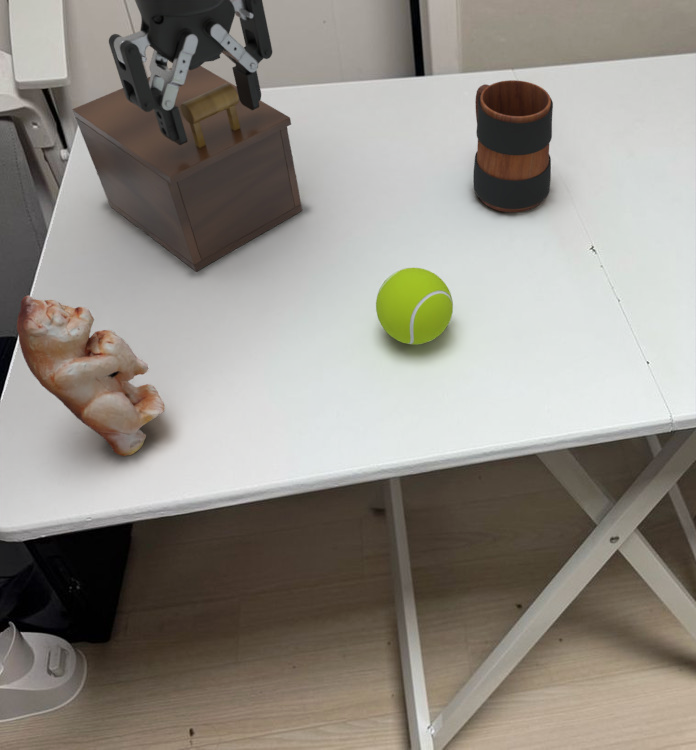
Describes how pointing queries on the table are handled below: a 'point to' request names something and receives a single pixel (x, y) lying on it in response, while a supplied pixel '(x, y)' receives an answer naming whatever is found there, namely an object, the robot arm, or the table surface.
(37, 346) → the figurine
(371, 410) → the table surface
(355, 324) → the table surface
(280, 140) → the chest
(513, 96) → the mug
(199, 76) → the lid
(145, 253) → the table surface
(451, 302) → the tennis ball
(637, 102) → the table surface
